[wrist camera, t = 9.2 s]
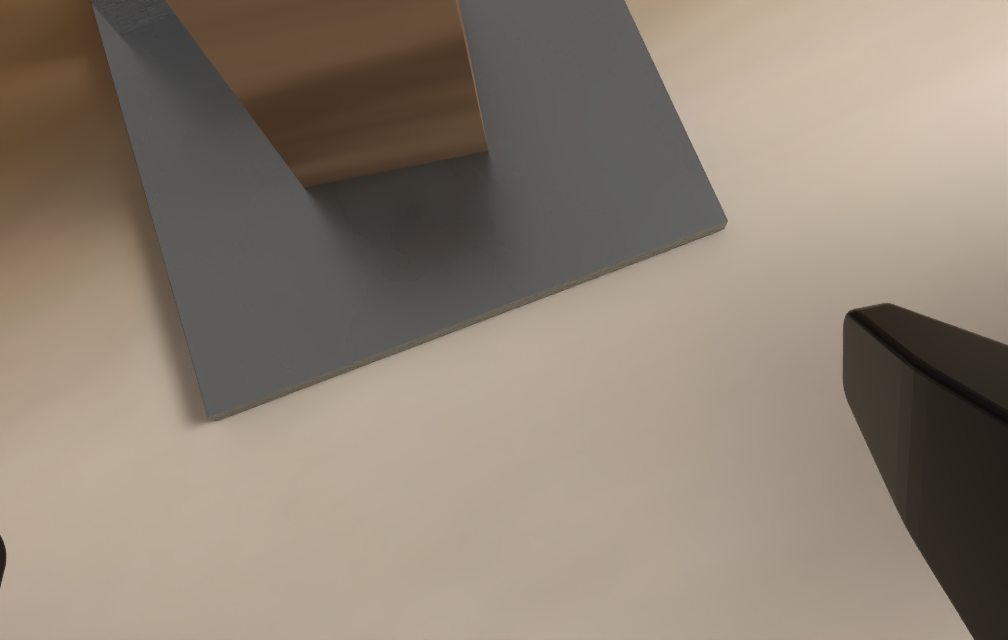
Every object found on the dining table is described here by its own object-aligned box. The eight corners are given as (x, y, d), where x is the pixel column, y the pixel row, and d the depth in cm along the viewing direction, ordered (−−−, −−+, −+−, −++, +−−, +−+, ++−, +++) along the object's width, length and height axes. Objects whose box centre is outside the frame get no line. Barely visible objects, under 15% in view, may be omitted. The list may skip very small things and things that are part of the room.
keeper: (724, 229, 24) (786, 93, 17) (217, 421, 23) (66, 364, 16) (533, -180, 27) (518, -431, 20) (92, -18, 27) (-74, -216, 20)
